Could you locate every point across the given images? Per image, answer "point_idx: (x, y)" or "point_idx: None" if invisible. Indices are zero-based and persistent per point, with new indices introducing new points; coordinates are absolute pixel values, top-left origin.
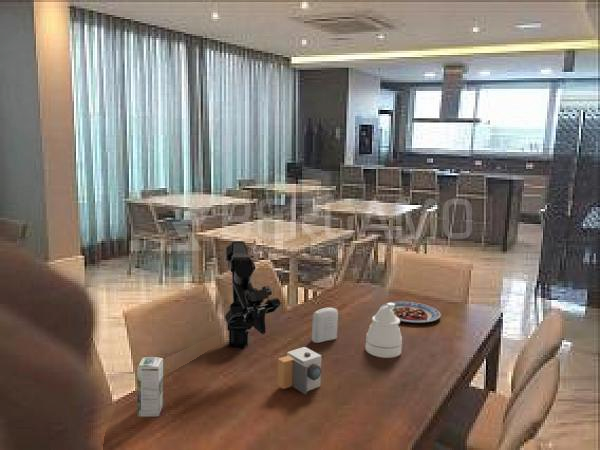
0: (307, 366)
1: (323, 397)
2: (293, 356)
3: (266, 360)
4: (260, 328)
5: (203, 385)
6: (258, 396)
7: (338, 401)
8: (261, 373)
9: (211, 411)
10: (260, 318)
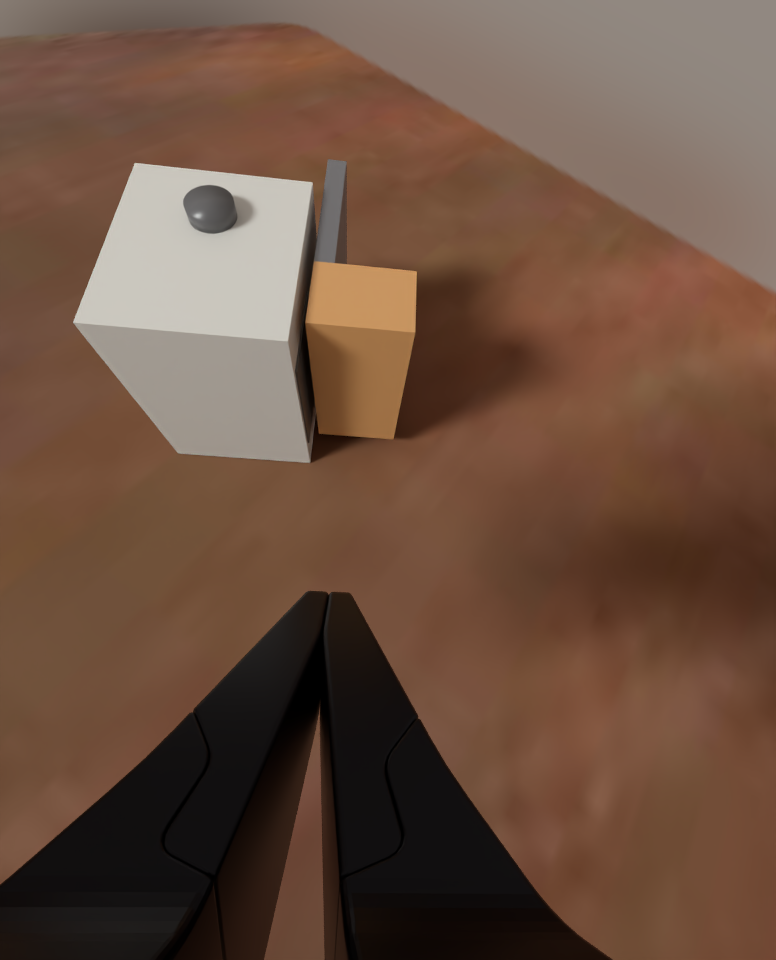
0: (329, 160)
1: None
2: (298, 277)
3: None
4: (376, 652)
5: (746, 753)
6: (518, 446)
7: None
8: None
9: (768, 478)
10: (233, 878)
